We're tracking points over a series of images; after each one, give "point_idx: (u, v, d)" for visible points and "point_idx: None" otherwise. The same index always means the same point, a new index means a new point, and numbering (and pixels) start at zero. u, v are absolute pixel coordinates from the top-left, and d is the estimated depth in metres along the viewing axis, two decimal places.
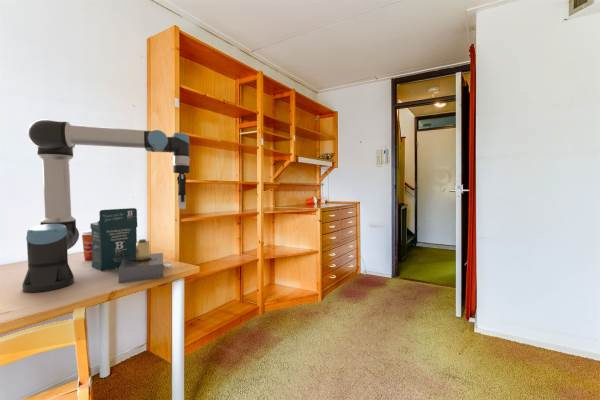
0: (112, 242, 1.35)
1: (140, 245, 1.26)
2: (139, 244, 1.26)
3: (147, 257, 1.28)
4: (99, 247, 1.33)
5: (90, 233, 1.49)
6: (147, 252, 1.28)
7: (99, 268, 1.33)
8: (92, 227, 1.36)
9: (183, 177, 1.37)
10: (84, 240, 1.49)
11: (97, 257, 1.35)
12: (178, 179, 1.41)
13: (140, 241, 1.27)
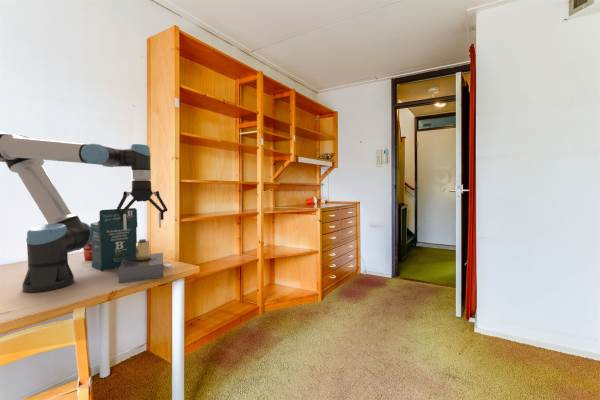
0: (112, 242, 1.35)
1: (140, 245, 1.26)
2: (139, 244, 1.26)
3: (147, 257, 1.28)
4: (99, 247, 1.33)
5: None
6: (147, 252, 1.28)
7: (99, 268, 1.33)
8: (92, 227, 1.36)
9: None
10: None
11: (97, 257, 1.35)
12: None
13: (140, 241, 1.27)
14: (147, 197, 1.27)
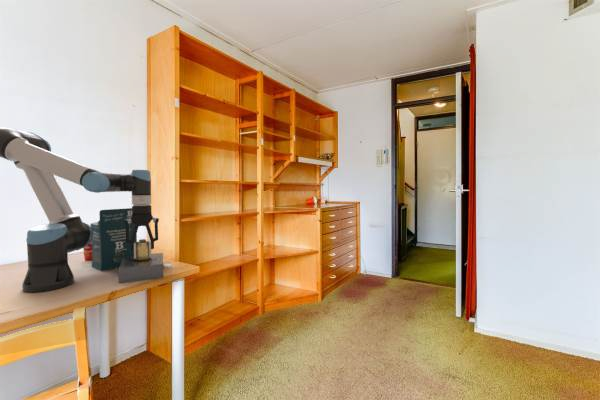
0: (112, 242, 1.35)
1: (140, 245, 1.26)
2: (139, 244, 1.26)
3: (147, 257, 1.28)
4: (99, 247, 1.33)
5: None
6: (147, 252, 1.28)
7: (99, 268, 1.33)
8: (92, 227, 1.36)
9: None
10: None
11: (97, 257, 1.35)
12: None
13: (140, 241, 1.27)
14: (146, 223, 1.27)
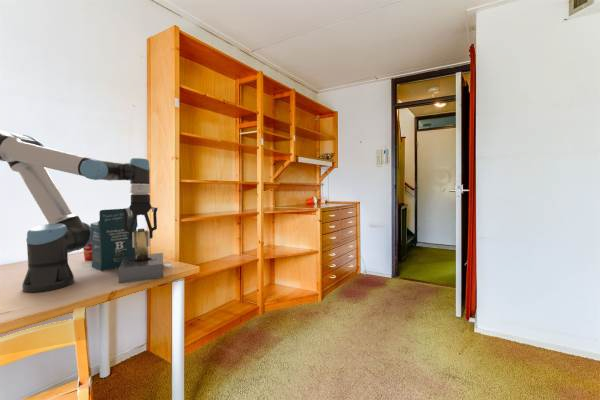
0: (112, 242, 1.35)
1: (138, 234, 1.25)
2: (137, 233, 1.25)
3: (145, 246, 1.27)
4: (99, 247, 1.33)
5: None
6: (145, 241, 1.27)
7: (99, 268, 1.33)
8: (92, 227, 1.36)
9: None
10: None
11: (97, 257, 1.35)
12: None
13: (138, 230, 1.27)
14: (144, 212, 1.27)
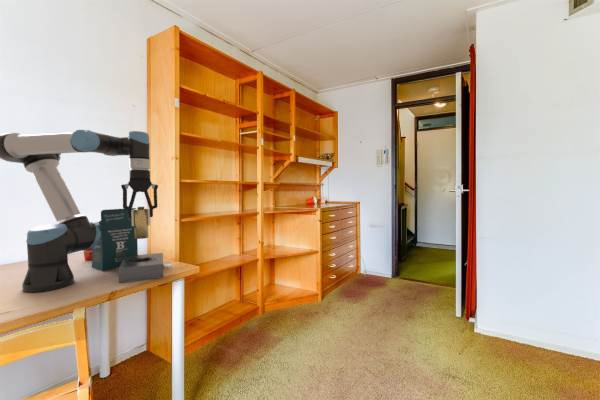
0: (113, 242, 1.35)
1: (138, 212, 1.18)
2: (137, 211, 1.18)
3: (145, 225, 1.20)
4: (100, 247, 1.32)
5: None
6: (145, 220, 1.20)
7: (100, 268, 1.32)
8: None
9: None
10: None
11: (98, 257, 1.34)
12: None
13: (138, 208, 1.20)
14: (144, 188, 1.20)
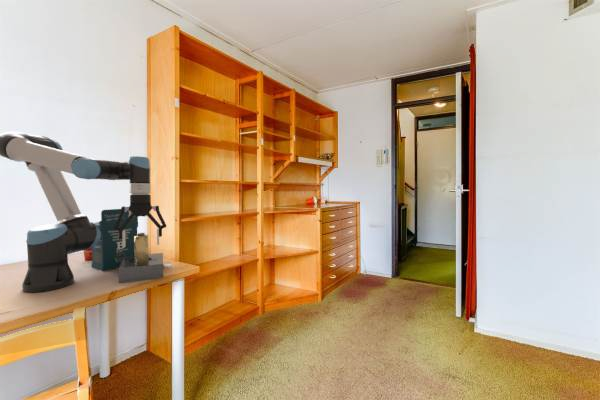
0: (113, 242, 1.35)
1: (138, 239, 1.19)
2: (137, 238, 1.19)
3: (146, 252, 1.21)
4: (100, 247, 1.32)
5: None
6: (146, 246, 1.21)
7: (100, 268, 1.32)
8: None
9: None
10: None
11: (98, 257, 1.34)
12: None
13: (138, 235, 1.20)
14: (146, 212, 1.20)
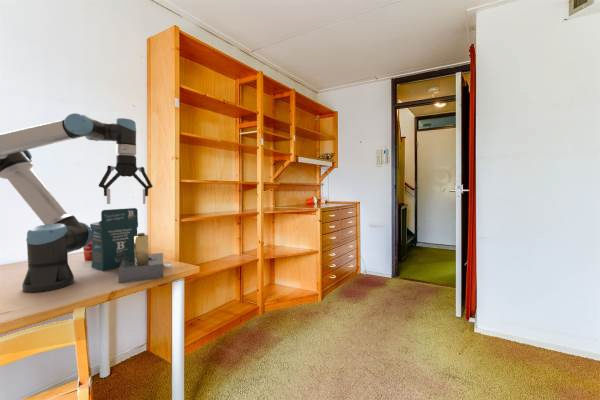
0: (113, 242, 1.35)
1: (138, 239, 1.19)
2: (137, 238, 1.19)
3: (146, 252, 1.21)
4: (100, 247, 1.32)
5: None
6: (146, 246, 1.21)
7: (100, 268, 1.32)
8: (92, 227, 1.35)
9: None
10: None
11: (98, 257, 1.34)
12: None
13: (138, 235, 1.20)
14: (131, 172, 1.26)
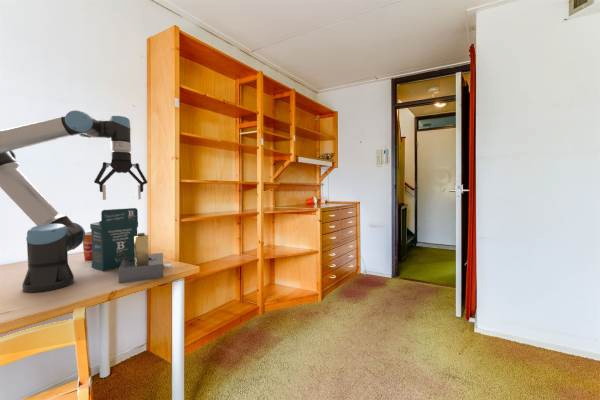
0: (113, 242, 1.35)
1: (138, 239, 1.19)
2: (137, 238, 1.19)
3: (146, 252, 1.21)
4: (100, 247, 1.32)
5: (90, 233, 1.49)
6: (146, 246, 1.21)
7: (100, 268, 1.32)
8: (92, 227, 1.35)
9: None
10: (84, 240, 1.49)
11: (98, 257, 1.34)
12: None
13: (138, 235, 1.20)
14: (126, 168, 1.29)
